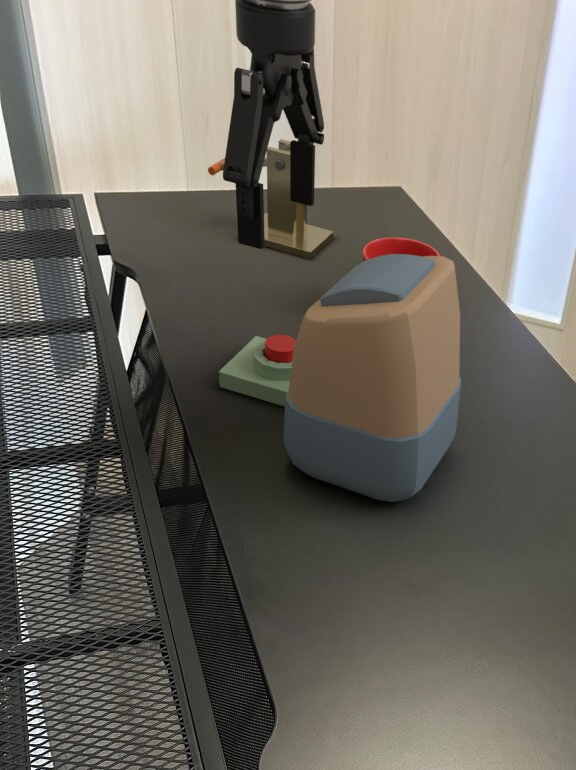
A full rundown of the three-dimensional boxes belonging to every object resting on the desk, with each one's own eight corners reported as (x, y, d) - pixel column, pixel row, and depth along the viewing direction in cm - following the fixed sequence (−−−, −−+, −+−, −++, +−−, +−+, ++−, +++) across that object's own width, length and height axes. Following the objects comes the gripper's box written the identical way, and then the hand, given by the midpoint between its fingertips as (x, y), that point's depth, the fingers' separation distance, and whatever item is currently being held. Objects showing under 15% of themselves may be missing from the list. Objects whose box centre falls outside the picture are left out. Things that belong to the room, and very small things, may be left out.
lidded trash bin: (336, 403, 106) (345, 215, 90) (461, 444, 104) (493, 259, 87) (271, 476, 95) (267, 275, 78) (410, 524, 92) (436, 327, 76)
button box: (219, 387, 105) (217, 358, 102) (256, 350, 112) (255, 322, 109) (309, 414, 104) (309, 385, 101) (340, 375, 111) (342, 348, 108)
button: (259, 358, 104) (259, 345, 103) (273, 344, 107) (273, 331, 106) (289, 367, 104) (289, 354, 103) (303, 352, 107) (303, 340, 105)
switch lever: (210, 179, 131) (205, 163, 130) (226, 170, 135) (221, 153, 133) (290, 172, 126) (286, 155, 125) (304, 162, 130) (300, 145, 128)
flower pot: (343, 309, 123) (347, 242, 116) (405, 295, 129) (412, 231, 122) (384, 344, 118) (390, 276, 111) (447, 328, 123) (456, 263, 116)
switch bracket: (240, 239, 134) (236, 145, 124) (265, 220, 140) (264, 129, 130) (310, 259, 133) (312, 166, 123) (333, 238, 139) (336, 148, 129)
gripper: (254, 32, 72) (261, 274, 87) (359, -14, 89) (349, 194, 104) (173, 13, 73) (193, 256, 88) (292, -30, 90) (292, 179, 105)
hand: (278, 223), depth 96 cm, fingers open, 13 cm apart
